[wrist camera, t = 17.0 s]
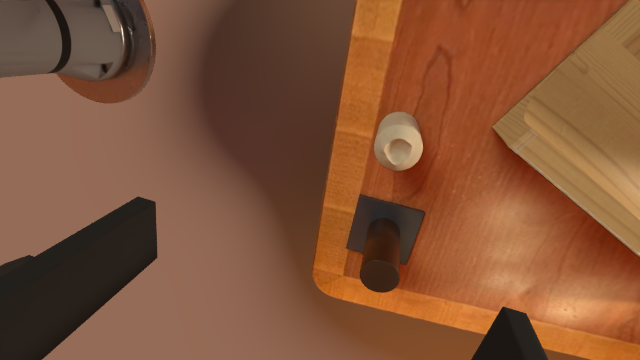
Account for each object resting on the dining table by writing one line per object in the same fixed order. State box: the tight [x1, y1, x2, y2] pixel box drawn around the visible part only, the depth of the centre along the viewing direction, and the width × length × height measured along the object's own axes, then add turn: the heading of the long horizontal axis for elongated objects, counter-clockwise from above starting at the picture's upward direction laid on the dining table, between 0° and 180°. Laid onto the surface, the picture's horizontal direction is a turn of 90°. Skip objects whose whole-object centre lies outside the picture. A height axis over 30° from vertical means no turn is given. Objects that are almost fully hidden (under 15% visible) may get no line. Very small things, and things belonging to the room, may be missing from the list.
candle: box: [374, 112, 423, 171], centre depth 40 cm, size 6×6×10 cm
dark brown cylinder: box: [360, 218, 400, 293], centre depth 46 cm, size 5×5×11 cm
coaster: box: [346, 195, 425, 265], centre depth 51 cm, size 10×10×1 cm
